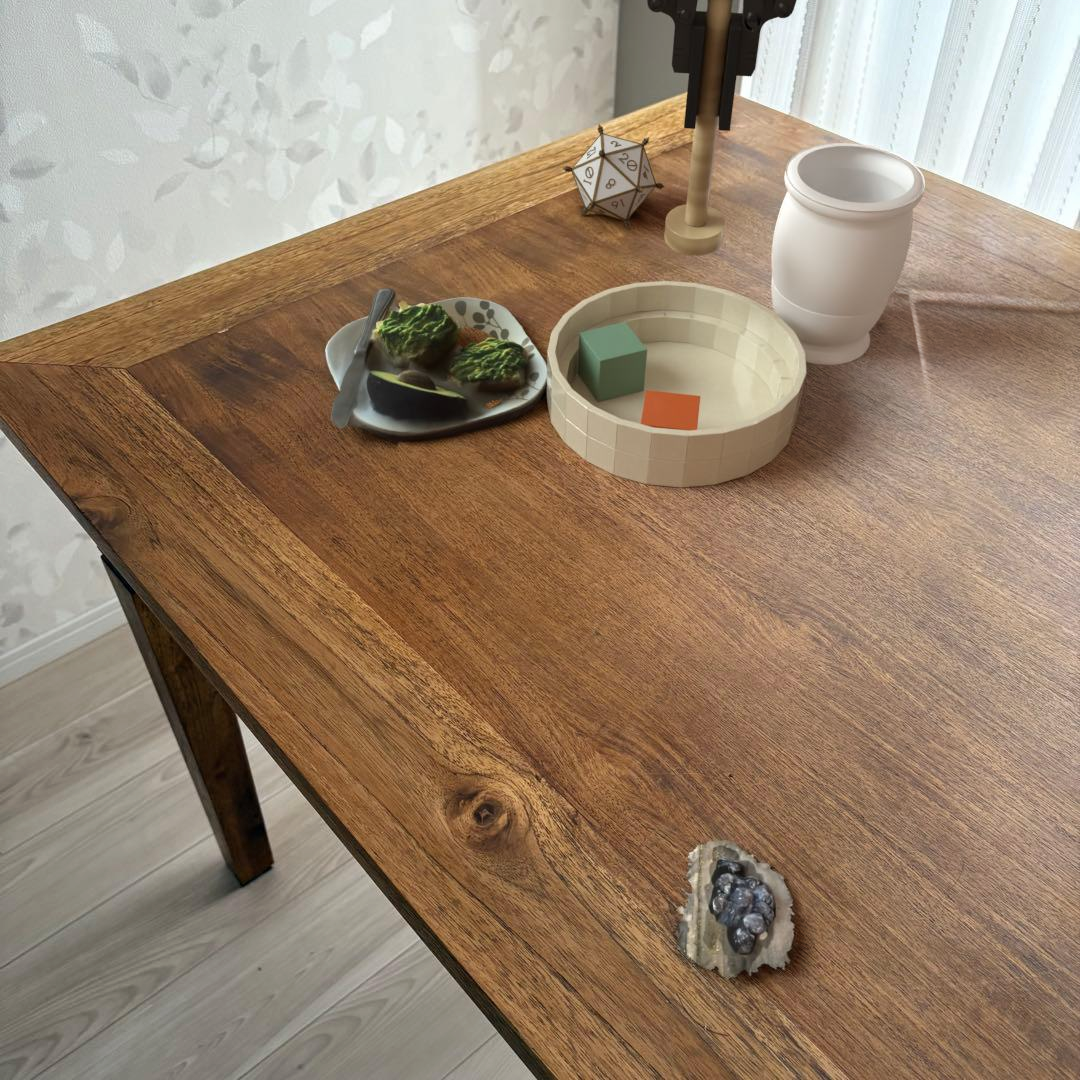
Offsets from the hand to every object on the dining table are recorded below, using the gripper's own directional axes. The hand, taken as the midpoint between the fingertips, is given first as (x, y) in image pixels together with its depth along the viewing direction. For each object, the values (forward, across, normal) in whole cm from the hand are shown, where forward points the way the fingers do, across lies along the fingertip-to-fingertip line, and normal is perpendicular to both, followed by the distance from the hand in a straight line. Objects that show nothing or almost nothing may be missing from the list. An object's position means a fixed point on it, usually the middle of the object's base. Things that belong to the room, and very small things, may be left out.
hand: (707, 119), depth 74 cm
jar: (+22, +11, +7) cm, 26 cm away
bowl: (+22, 0, -4) cm, 22 cm away
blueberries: (+22, +5, -45) cm, 50 cm away
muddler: (+10, 0, +2) cm, 10 cm away
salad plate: (+22, -20, -3) cm, 29 cm away
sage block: (+21, -5, -2) cm, 22 cm away
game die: (+22, -8, +25) cm, 34 cm away
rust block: (+21, -1, -10) cm, 23 cm away
